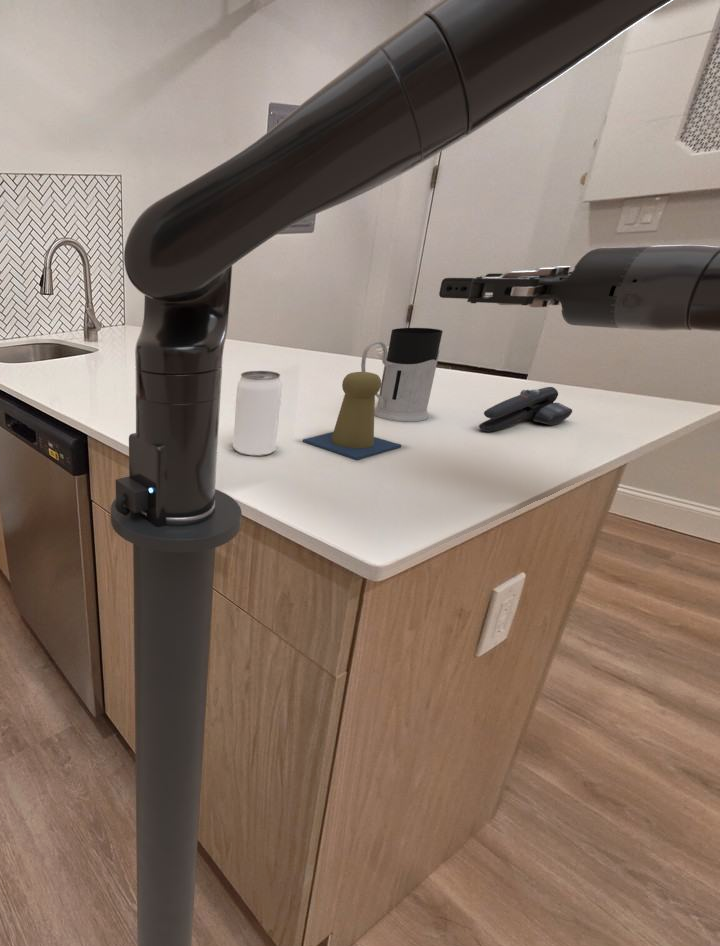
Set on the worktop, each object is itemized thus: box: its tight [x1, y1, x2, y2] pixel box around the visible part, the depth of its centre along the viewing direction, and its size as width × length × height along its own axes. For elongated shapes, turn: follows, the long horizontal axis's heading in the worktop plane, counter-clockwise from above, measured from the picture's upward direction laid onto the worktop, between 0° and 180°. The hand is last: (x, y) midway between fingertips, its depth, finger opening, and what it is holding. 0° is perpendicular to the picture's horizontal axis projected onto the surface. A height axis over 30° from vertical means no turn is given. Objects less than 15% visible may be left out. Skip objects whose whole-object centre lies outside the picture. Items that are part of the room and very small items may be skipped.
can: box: [232, 370, 283, 457], centre depth 80 cm, size 6×6×12 cm
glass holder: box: [360, 327, 443, 422], centre depth 92 cm, size 9×14×15 cm, turn 102°
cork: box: [331, 371, 382, 449], centre depth 80 cm, size 6×6×11 cm
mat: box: [302, 431, 402, 461], centre depth 83 cm, size 10×10×1 cm
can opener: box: [478, 386, 573, 433], centre depth 86 cm, size 18×7×6 cm, turn 110°
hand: (463, 285), depth 64 cm, fingers open, 8 cm apart
